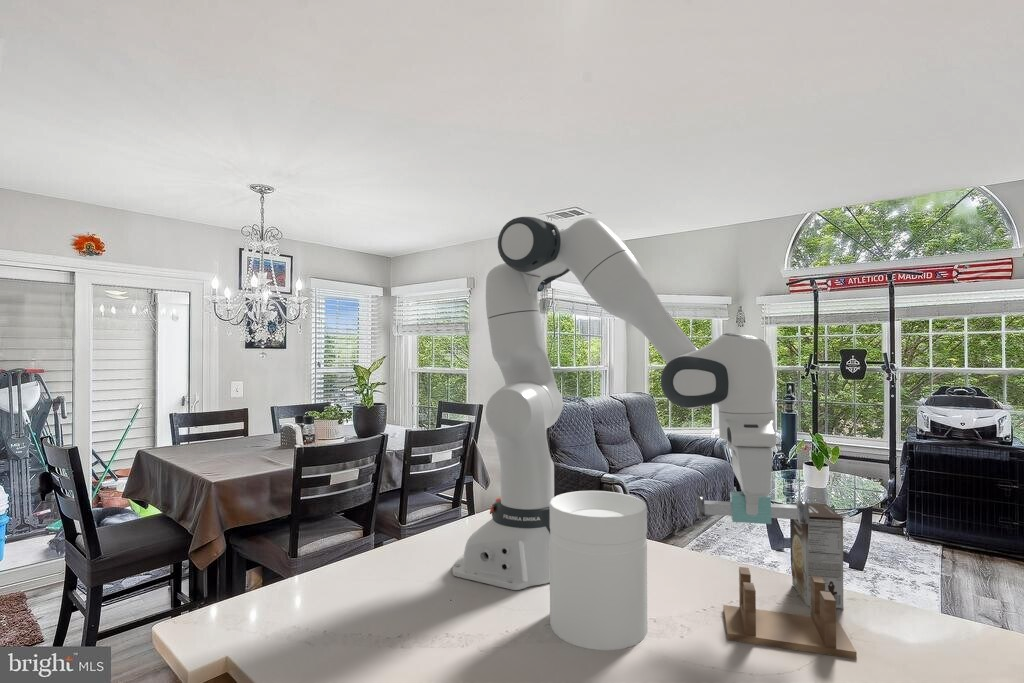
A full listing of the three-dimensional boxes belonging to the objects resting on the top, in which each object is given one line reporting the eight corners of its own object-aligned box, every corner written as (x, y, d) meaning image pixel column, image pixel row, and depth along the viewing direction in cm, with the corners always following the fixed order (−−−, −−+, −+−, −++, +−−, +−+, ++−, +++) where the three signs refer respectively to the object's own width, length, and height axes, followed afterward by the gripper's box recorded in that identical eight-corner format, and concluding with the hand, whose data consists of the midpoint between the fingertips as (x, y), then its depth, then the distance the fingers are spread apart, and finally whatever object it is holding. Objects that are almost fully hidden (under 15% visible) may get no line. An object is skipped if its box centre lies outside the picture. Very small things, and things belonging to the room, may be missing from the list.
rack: (728, 639, 85) (727, 588, 85) (723, 610, 95) (723, 564, 95) (856, 658, 80) (855, 603, 80) (838, 625, 89) (837, 576, 90)
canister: (651, 609, 95) (651, 494, 96) (642, 658, 80) (641, 522, 80) (562, 596, 100) (562, 487, 101) (538, 639, 85) (537, 511, 86)
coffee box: (790, 584, 105) (789, 501, 106) (826, 587, 104) (825, 503, 104) (806, 606, 96) (805, 515, 97) (846, 609, 95) (845, 517, 95)
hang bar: (697, 520, 93) (696, 494, 93) (696, 514, 96) (695, 489, 96) (809, 526, 88) (808, 499, 88) (804, 520, 91) (803, 493, 91)
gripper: (722, 420, 103) (725, 494, 103) (732, 436, 84) (736, 527, 83) (758, 421, 101) (761, 495, 101) (777, 437, 82) (781, 530, 82)
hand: (750, 510), depth 92 cm, fingers closed on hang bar, 3 cm apart
